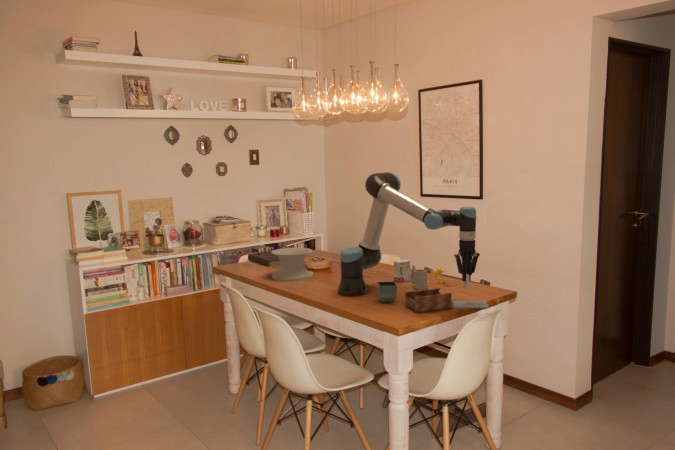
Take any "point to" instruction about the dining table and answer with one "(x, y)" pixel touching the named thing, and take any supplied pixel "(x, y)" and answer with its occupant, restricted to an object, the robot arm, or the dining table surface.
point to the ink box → (401, 270)
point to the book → (265, 258)
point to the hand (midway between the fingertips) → (466, 287)
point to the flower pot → (387, 291)
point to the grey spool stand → (292, 264)
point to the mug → (419, 278)
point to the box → (427, 300)
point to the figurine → (438, 275)
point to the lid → (469, 304)
